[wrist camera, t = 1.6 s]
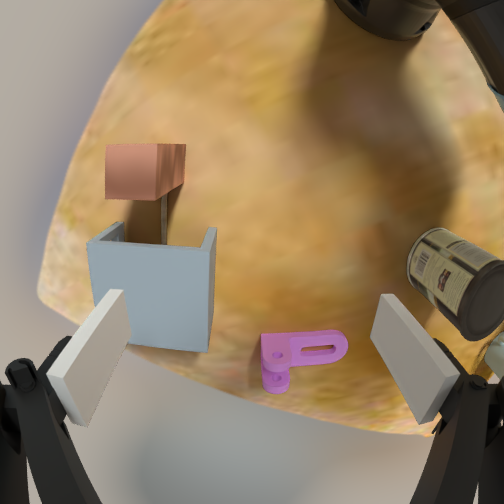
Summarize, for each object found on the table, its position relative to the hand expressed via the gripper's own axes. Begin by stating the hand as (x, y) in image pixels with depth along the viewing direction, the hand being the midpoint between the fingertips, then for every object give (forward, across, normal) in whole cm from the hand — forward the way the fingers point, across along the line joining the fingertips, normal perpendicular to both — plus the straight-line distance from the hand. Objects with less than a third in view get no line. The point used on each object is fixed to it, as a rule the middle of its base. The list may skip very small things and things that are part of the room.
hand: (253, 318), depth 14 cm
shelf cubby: (+22, -10, -7) cm, 26 cm away
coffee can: (+23, +28, -5) cm, 36 cm away
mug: (+23, +56, -25) cm, 65 cm away
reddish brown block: (+22, -10, -1) cm, 24 cm away
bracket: (+23, +9, -19) cm, 31 cm away
